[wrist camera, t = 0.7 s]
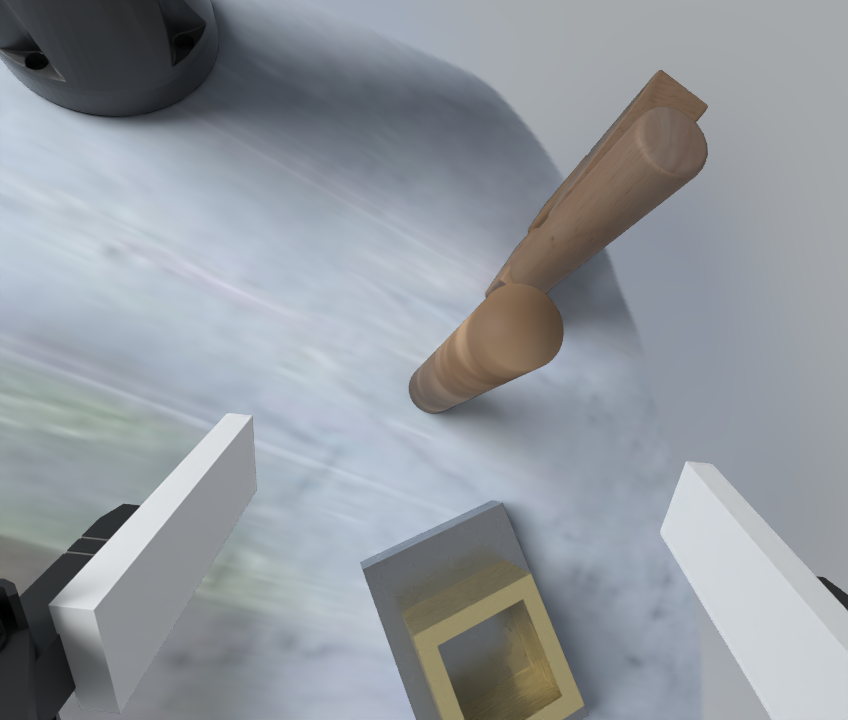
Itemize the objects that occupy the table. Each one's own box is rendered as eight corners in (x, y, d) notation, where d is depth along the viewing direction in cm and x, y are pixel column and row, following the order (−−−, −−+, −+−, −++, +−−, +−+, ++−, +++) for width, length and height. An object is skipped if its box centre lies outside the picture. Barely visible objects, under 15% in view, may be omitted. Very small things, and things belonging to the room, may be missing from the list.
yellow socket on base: (360, 562, 30) (368, 586, 24) (492, 500, 32) (527, 508, 27) (439, 784, 28) (468, 867, 22) (572, 699, 31) (628, 754, 25)
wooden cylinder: (401, 374, 33) (465, 298, 18) (445, 358, 34) (541, 273, 19) (419, 420, 33) (501, 382, 17) (463, 403, 34) (577, 352, 18)
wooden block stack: (578, 228, 39) (774, 45, 22) (518, 323, 36) (693, 196, 19) (544, 203, 39) (714, -1, 22) (481, 296, 36) (623, 143, 19)
